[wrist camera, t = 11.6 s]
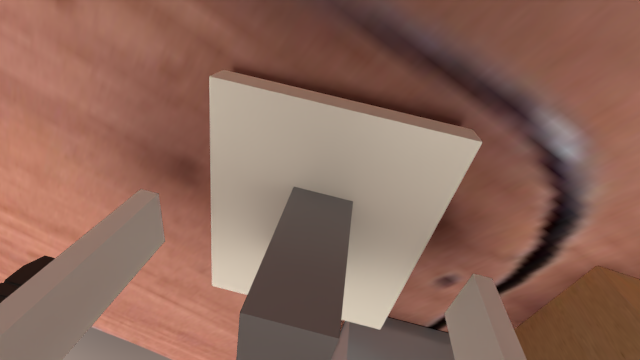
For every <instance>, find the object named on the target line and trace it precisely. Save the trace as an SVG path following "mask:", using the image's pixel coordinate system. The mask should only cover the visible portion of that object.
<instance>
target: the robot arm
mask: <svg viewBox="0 0 640 360" xmlns="http://www.w3.org/2000/svg"><path fill="white" fill-rule="evenodd" d="M164 242H165V238H164V230H163V223H162V215H161V207H160V200H159V193H155V192H151V191H147V190H143V189H140V190H139V191H138V192H136V193H135V194H134V195H133V196H132V197H130V198H129V199H128V200H127V201H125V202H124V203H123V204H122V205H120V206H119V207H118V208H117V209H116V210H114V211H113V212H112V213H111V214H109V215H108V216H107V217H106V218H104V219H103V220H102V221H101V222H100V223H98V224H97V225H96V226H95V227H93V228H92V229H91V230H90V231H88V232H87V233H86V234H85V235H83V236H82V237H81V238H80V239H79V240H77V241H76V242H75V243H74V244H72V245H71V246H70V247H69V248H67V249H66V250H65V251H64V252H63V253H61V254H60V255H59V256H58V257H56V258H52V257H48V256H43V257H41V258H39V259H37V260H35V261H33V262H31V263H29V264H26V265H24V266H23V267H21V268H20V269H19V270H17V271H16V272H15V273H13V274H12V275H11V276H9V277H8V278H7V279H6V280H5V282H4V283H0V360H62V359H63V358H64V357H65V356H66V354H68V353H69V351H70V350H71V349H72V348H73V347H74V346H75V344H76V343H77V342H78V341H79V340H80V339H81V338H82V336H83V335H84V334H85V333H86V331H88V329H89V328H90V327H91V326H92V325H93V324H94V323H95V321H96V320H97V319H98V318H99V317H100V316H101V314H102V313H103V312H104V311H105V310H106V309H107V307H108V306H109V305H110V304H111V303H112V302H113V301H114V299H115V298H116V297H117V296H118V295H119V294H120V292H121V291H122V290H123V289H124V288H125V287H126V286H127V284H128V283H129V282H130V281H131V280H132V279H133V277H134V276H135V275H136V274H137V273H138V272H139V271H140V269H141V268H142V267H143V266H144V265H145V264H146V262H147V261H148V260H149V259H150V258H151V257H152V255H153V254H154V253H155V252H156V251H157V250H158V249H159V247H160V246H161V245H162V244H163V243H164ZM444 314H445V319H446V323H447V327H448V332H449V336H450V341H451V345H452V350H453V354H454V358H455V360H527V359H526V357H525V354H524V352H523V350H522V347H521V345H520V343H519V340H518V338H517V335H516V333H515V331H514V328H513V326H512V324H511V321H510V319H509V317H508V314H507V312H506V310H505V307H504V305H503V303H502V300H501V298H500V296H499V293H498V291H497V289H496V286H495V284H494V282H493V279H492V278H489V277H485V276H481V275H477V274H473V275H472V276H471V277H470V279H469V280H468V281H467V283H466V284H465V286H464V287H463V288H462V290H461V291H460V293H459V294H458V295H457V297H456V298H455V299H454V301H453V302H452V304H451V305H450V306H449V308H448V309H447V311H446V312H445V313H444Z"/></svg>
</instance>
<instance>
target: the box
mask: <svg viewBox="0 0 640 360" xmlns="http://www.w3.org/2000/svg"><path fill="white" fill-rule="evenodd" d="M331 360H455V358H454V354H453V350H452V345H451V341H450V336H449V333H446V332H442V331H438V330H434V329H430V328H427V327H423V326H419V325H415V324H411V323H407V322H404V321H400V320H396V319H392V318H388V317H387V318H386V320H385V322H384V324H383V326H382V328H381V329H380V330H379V329H375V328H371V327H368V326H364V325H360V324H356V323H352V322H349V321H345V322H344V325H343V327H342V329H341V332H340V338H339V341H338V343H337V346H336V348H335V350H334V353H333V355H332V357H331Z"/></svg>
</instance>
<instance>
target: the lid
mask: <svg viewBox="0 0 640 360" xmlns="http://www.w3.org/2000/svg"><path fill="white" fill-rule="evenodd" d="M209 96H210V175H211V254H212V286H215V287H219V288H222V289H226V290H230V291H234V292H238V293H242V294H245V295H247V297H246V300H245V302H244V304H243V307H242V309H241V311H240V319H239V332H238V346H237V359H236V360H331V357H332V355H333V353H334V350H335V348H336V346H337V343H338V341H339V338H340V328H341V320H345V321H349V322H352V323H356V324H360V325H364V326H368V327H371V328H375V329H379V330H380V329H381V328H382V326H383V324H384V322H385V320H386V318H387V317H388V315H389V313H390V311H391V309H392V307H393V306H394V304H395V302H396V300H397V298H398V296H399V295H400V293H401V291H402V289H403V287H404V285H405V284H406V282H407V280H408V278H409V276H410V274H411V273H412V271H413V269H414V267H415V265H416V263H417V262H418V260H419V258H420V256H421V254H422V252H423V251H424V249H425V247H426V245H427V243H428V241H429V240H430V238H431V236H432V234H433V232H434V230H435V229H436V227H437V225H438V223H439V221H440V219H441V218H442V216H443V214H444V212H445V210H446V208H447V207H448V205H449V203H450V201H451V199H452V197H453V196H454V194H455V192H456V190H457V188H458V186H459V185H460V183H461V181H462V179H463V177H464V175H465V174H466V172H467V170H468V168H469V166H470V164H471V163H472V161H473V159H474V157H475V155H476V153H477V152H478V150H479V148H480V146H481V144H482V141H481V139H480V138H479V137H478V136H477V134H476V133H475V132H474V130H473V129H469V128H464V127H460V126H456V125H452V124H448V123H444V122H439V121H435V120H431V119H427V118H423V117H419V116H414V115H410V114H406V113H402V112H398V111H394V110H390V109H385V108H381V107H377V106H373V105H369V104H365V103H360V102H356V101H352V100H348V99H344V98H340V97H335V96H331V95H327V94H323V93H319V92H315V91H310V90H306V89H302V88H298V87H294V86H290V85H286V84H281V83H277V82H273V81H269V80H265V79H261V78H256V77H252V76H248V75H244V74H240V73H236V72H231V71H227V70H222V71H219V72H217V73H215V74H213V75H211V76H209Z"/></svg>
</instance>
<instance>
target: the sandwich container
mask: <svg viewBox="0 0 640 360" xmlns="http://www.w3.org/2000/svg"><path fill="white" fill-rule="evenodd" d="M514 331H515V333H516V335H517V338H518V340H519V343H520V345H521V347H522V350H523V352H524V354H525V357H526V359H527V360H640V279H637V278H634V277H631V276H628V275H625V274H622V273H619V272H616V271H613V270H610V269H606V268H603V267H600V266H595V267H594V268H593V269H592V270H590V271H589V272H588V273H586V274H585V275H584V276H583V277H581V278H580V279H579V280H577V281H576V282H575V283H574V284H572V285H571V286H570V287H568V288H567V289H566V290H565V291H563V292H562V293H561V294H559V295H558V296H557V297H556V298H554V299H553V300H552V301H550V302H549V303H548V304H546V305H545V306H544V307H543V308H541V309H540V310H539V311H537V312H536V313H535V314H534V315H532V316H531V317H530V318H528V319H527V320H526V321H525V322H523V323H522V324H521V325H520V326H518V327H517V328H516V329H514Z"/></svg>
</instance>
